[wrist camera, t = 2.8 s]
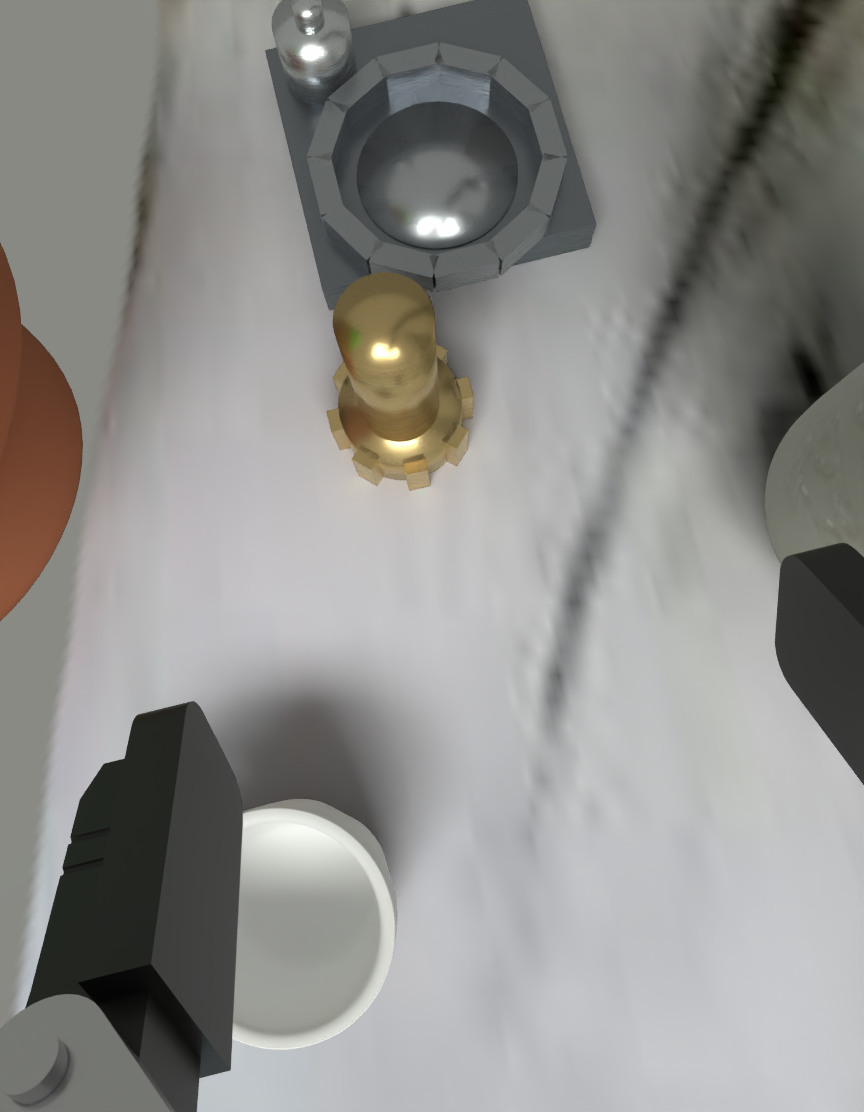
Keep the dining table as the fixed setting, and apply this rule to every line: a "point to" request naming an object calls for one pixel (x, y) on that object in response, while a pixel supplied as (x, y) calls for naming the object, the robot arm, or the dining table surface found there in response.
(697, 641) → the dining table surface
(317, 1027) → the teacup
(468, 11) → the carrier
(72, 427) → the potted cactus
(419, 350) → the gear
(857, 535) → the white rounded cylinder
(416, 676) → the dining table surface
